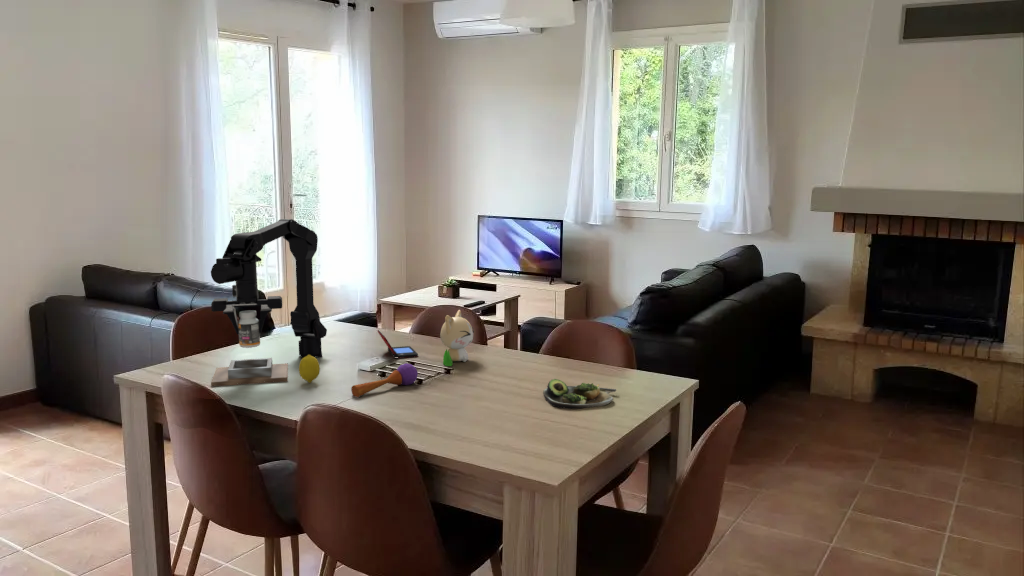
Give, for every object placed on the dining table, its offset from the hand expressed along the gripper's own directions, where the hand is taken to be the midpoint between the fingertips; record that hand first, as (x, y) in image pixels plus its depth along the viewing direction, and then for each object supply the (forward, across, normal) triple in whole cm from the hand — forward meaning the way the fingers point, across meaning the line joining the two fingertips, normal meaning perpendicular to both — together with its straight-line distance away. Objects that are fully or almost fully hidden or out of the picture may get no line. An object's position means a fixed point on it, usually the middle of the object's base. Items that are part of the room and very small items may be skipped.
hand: (249, 333), depth 228 cm
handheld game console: (+13, -44, -16) cm, 48 cm away
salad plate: (+13, -82, +44) cm, 94 cm away
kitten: (+13, -60, -3) cm, 61 cm away
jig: (+12, 0, 0) cm, 12 cm away
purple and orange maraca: (+13, -36, +23) cm, 44 cm away
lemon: (+13, -16, +11) cm, 23 cm away
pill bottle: (+4, 0, 0) cm, 4 cm away
